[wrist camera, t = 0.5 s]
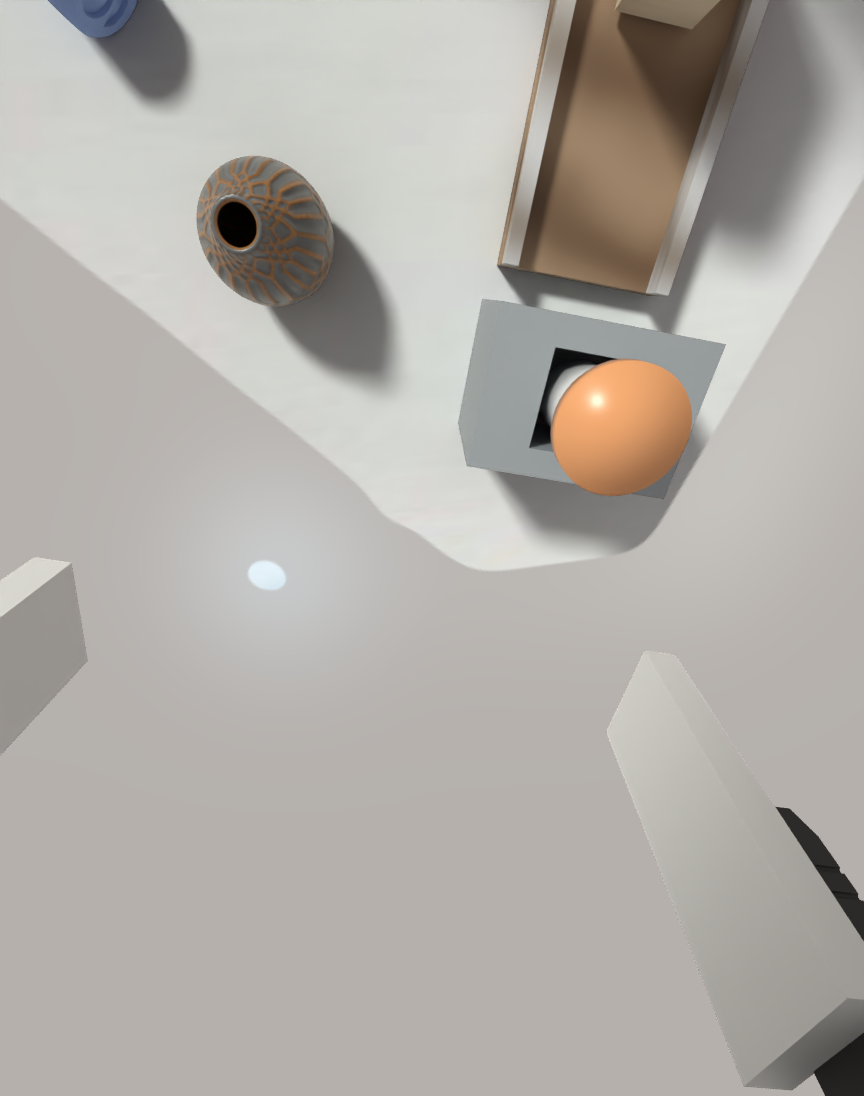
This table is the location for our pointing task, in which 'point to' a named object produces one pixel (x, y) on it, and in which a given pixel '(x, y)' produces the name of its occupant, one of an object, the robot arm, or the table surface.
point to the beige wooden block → (668, 10)
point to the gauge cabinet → (521, 373)
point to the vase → (265, 231)
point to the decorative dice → (96, 15)
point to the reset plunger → (616, 423)
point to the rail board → (622, 141)
